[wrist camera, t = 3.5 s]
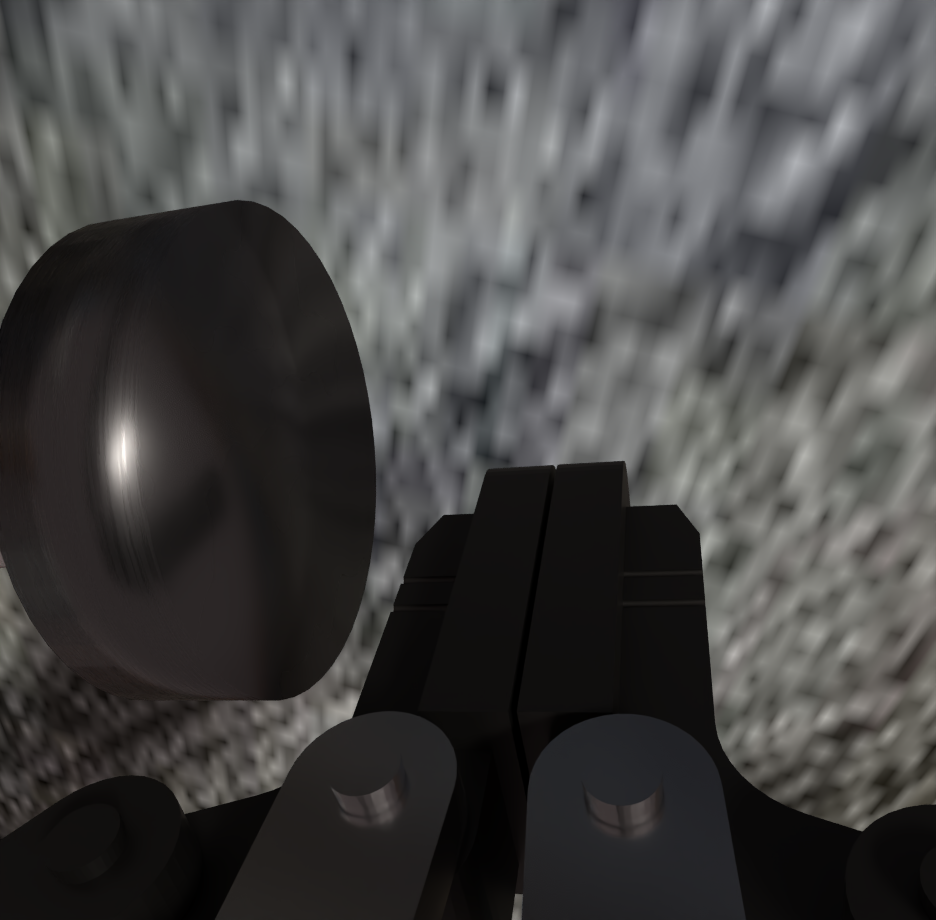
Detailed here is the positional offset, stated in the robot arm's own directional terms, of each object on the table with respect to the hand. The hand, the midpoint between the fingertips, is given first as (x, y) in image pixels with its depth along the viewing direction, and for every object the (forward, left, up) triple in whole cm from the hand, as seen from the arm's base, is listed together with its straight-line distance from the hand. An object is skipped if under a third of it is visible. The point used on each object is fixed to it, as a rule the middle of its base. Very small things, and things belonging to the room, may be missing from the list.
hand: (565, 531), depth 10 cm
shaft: (+13, 0, -6) cm, 14 cm away
